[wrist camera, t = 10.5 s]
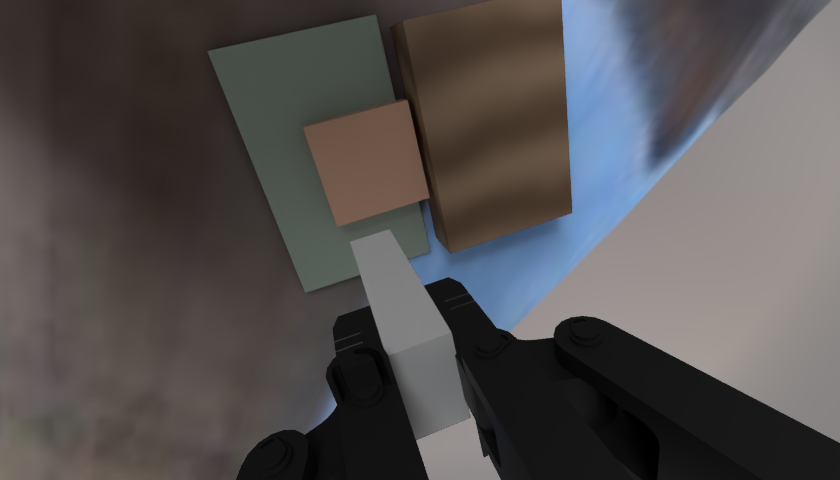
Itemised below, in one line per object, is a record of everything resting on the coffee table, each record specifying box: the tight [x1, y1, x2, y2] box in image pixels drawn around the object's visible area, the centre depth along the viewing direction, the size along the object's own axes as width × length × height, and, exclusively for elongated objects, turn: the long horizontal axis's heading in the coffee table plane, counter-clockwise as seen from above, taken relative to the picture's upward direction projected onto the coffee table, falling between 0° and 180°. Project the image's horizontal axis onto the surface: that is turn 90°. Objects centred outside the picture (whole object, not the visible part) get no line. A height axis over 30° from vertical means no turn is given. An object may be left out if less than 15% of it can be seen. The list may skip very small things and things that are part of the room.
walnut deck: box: [390, 0, 572, 253], centre depth 33 cm, size 18×12×4 cm, turn 13°
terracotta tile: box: [303, 99, 430, 227], centre depth 32 cm, size 8×8×2 cm
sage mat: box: [207, 14, 430, 293], centre depth 32 cm, size 20×12×1 cm, turn 13°
